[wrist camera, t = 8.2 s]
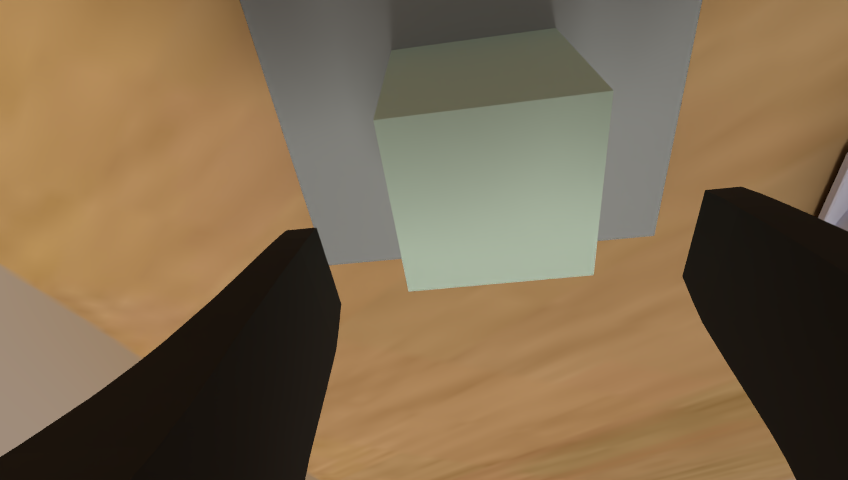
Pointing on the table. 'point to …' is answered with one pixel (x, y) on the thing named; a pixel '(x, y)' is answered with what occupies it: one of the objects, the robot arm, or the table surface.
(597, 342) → the table surface
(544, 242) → the sage cube
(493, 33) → the slate plinth
